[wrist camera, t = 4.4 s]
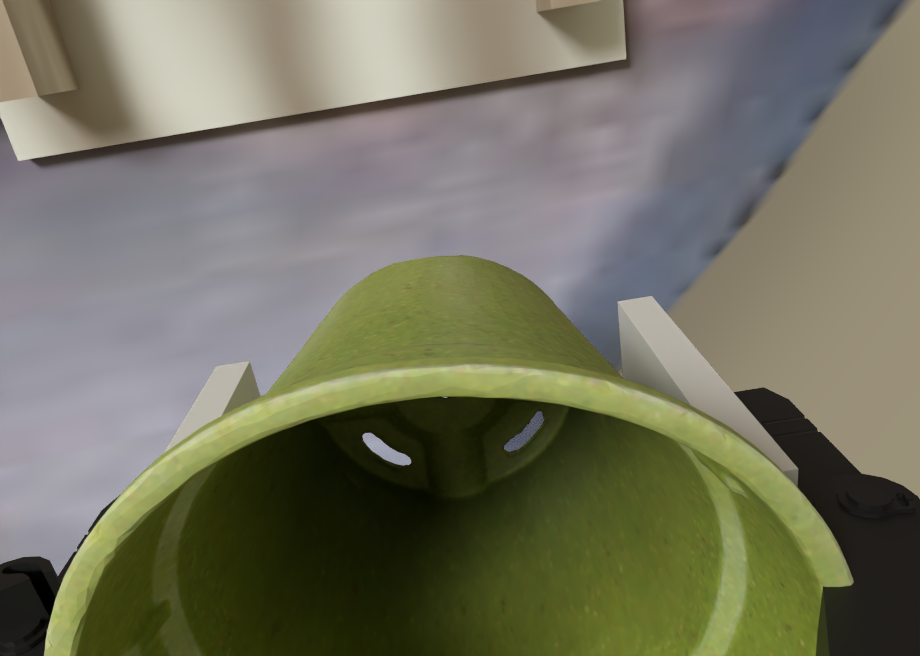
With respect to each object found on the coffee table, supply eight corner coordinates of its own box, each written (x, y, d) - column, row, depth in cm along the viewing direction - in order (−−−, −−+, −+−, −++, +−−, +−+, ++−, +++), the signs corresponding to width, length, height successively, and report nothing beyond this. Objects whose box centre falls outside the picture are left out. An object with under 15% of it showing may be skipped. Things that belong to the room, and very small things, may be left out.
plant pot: (484, 595, 19) (530, 1014, 11) (160, 425, 16) (-90, 809, 8) (729, 334, 16) (1029, 639, 8) (384, 79, 13) (329, 159, 6)
